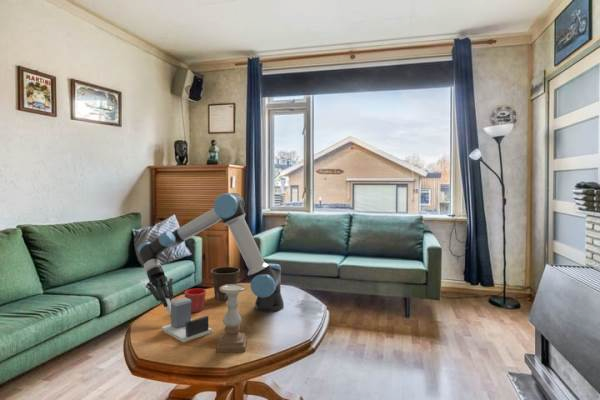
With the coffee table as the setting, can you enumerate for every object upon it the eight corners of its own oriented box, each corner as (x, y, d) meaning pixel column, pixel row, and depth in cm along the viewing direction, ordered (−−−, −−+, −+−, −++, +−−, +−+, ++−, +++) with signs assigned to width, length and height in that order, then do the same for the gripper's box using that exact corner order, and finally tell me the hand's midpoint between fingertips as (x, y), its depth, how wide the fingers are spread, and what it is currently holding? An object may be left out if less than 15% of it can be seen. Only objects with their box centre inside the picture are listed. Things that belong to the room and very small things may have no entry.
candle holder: (220, 340, 148) (220, 283, 147) (246, 339, 149) (247, 283, 148) (216, 352, 137) (216, 291, 136) (245, 352, 138) (245, 290, 137)
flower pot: (209, 306, 189) (209, 288, 189) (201, 314, 178) (201, 294, 178) (189, 305, 190) (189, 287, 190) (180, 313, 179) (180, 293, 179)
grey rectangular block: (170, 325, 159) (170, 300, 159) (185, 320, 165) (185, 297, 164) (176, 328, 156) (176, 303, 155) (191, 323, 161) (191, 299, 161)
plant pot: (230, 303, 194) (230, 274, 193) (205, 300, 200) (205, 271, 199) (245, 295, 209) (245, 268, 209) (221, 292, 215) (221, 265, 214)
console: (161, 330, 158) (161, 313, 157) (190, 321, 168) (190, 305, 168) (183, 342, 146) (183, 324, 145) (212, 332, 156) (212, 315, 156)
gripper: (164, 272, 183) (181, 312, 173) (138, 276, 173) (154, 319, 163) (169, 263, 179) (186, 304, 169) (143, 267, 170) (160, 311, 159)
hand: (171, 311), depth 166 cm, fingers closed
